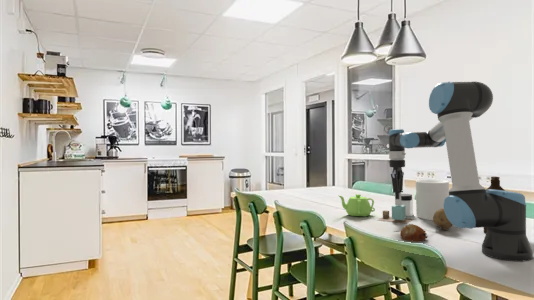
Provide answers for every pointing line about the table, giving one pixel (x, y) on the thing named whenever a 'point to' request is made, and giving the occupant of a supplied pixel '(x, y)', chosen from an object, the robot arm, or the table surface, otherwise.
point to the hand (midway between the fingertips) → (398, 205)
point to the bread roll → (413, 233)
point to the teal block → (398, 212)
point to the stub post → (385, 214)
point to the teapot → (358, 206)
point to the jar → (407, 203)
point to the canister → (430, 197)
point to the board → (395, 221)
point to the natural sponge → (441, 220)
